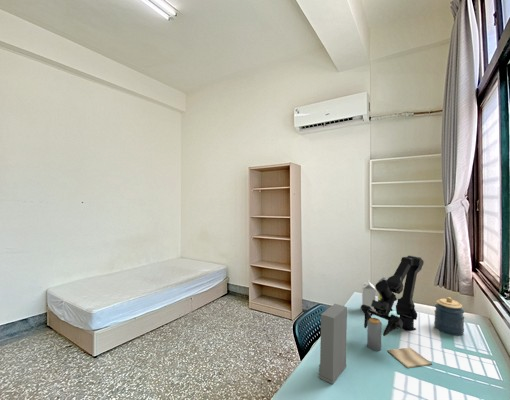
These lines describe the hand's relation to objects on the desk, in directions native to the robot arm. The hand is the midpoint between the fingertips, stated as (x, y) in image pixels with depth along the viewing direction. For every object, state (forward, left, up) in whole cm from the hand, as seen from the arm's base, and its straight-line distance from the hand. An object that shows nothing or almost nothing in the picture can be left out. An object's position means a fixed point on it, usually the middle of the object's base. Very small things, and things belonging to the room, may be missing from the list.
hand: (373, 331), depth 124 cm
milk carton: (-22, -36, -8) cm, 43 cm away
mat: (-10, +10, -8) cm, 16 cm away
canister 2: (-51, -8, -8) cm, 53 cm away
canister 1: (0, 0, -8) cm, 8 cm away
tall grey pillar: (+28, +13, -8) cm, 31 cm away
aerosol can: (-35, -39, -8) cm, 53 cm away
